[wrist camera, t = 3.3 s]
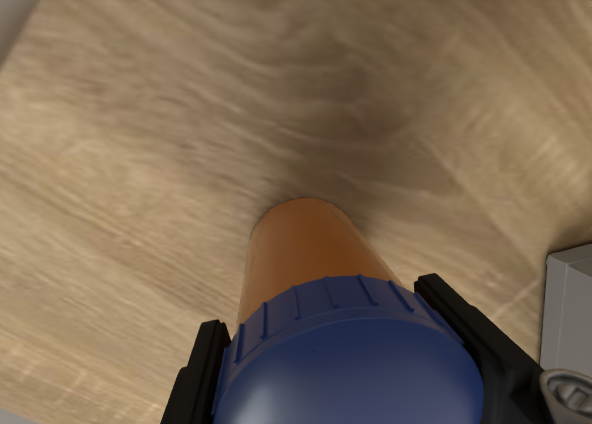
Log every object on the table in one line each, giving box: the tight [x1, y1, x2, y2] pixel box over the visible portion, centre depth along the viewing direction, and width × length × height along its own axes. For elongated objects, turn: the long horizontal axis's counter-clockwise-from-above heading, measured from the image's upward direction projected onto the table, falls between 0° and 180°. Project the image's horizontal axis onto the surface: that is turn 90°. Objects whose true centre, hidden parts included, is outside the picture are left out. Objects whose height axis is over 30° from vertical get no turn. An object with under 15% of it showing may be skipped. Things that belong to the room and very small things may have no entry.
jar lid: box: [211, 274, 484, 424], centre depth 8 cm, size 7×7×2 cm
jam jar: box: [235, 198, 406, 334], centre depth 12 cm, size 6×6×10 cm
